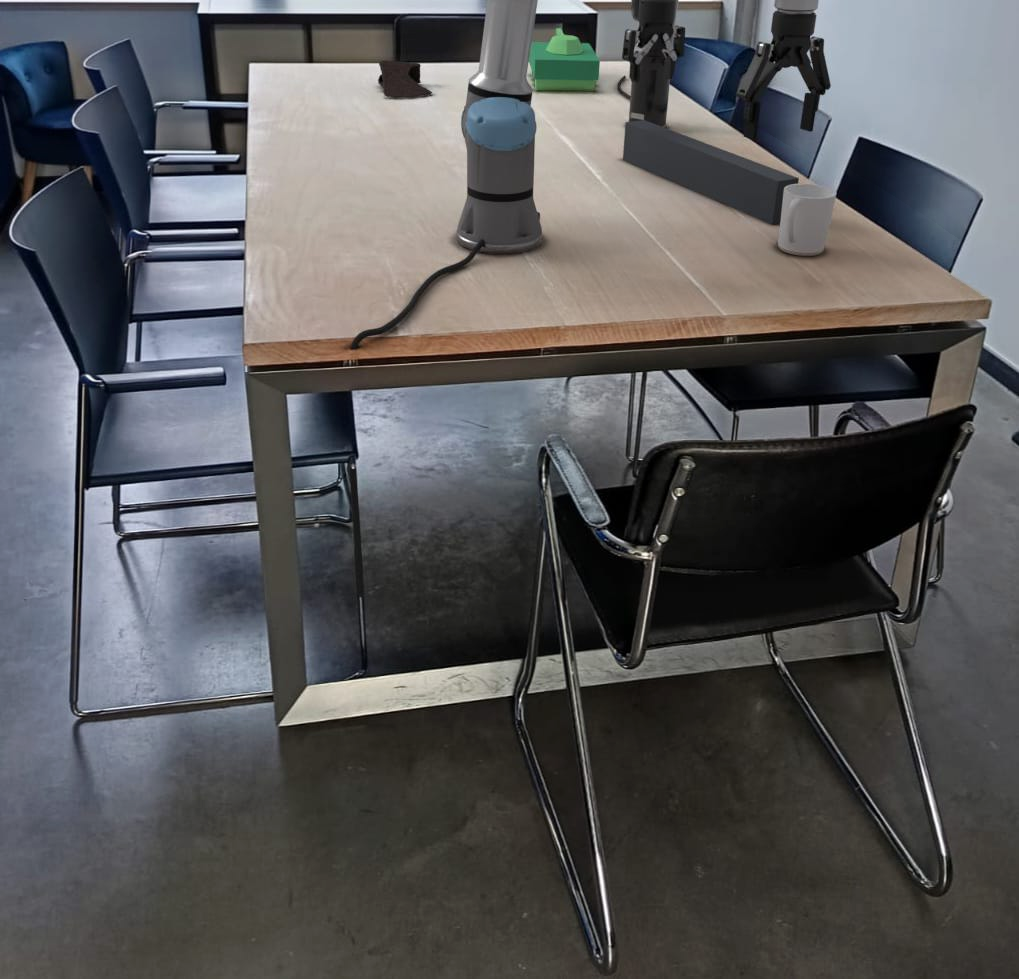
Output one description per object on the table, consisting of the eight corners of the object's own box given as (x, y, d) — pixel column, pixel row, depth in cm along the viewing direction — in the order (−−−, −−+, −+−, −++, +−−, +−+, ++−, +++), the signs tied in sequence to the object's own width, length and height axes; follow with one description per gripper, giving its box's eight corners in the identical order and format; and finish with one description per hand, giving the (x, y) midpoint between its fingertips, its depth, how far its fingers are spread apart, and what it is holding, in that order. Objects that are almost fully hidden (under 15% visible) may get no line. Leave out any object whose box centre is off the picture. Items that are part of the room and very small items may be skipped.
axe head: (443, 87, 294) (392, 77, 287) (436, 115, 299) (385, 106, 292) (421, 62, 307) (371, 52, 300) (414, 89, 311) (365, 80, 304)
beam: (792, 221, 209) (799, 178, 205) (772, 224, 207) (778, 181, 203) (641, 157, 246) (644, 119, 242) (622, 159, 244) (625, 122, 240)
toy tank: (587, 25, 326) (600, 46, 296) (584, 68, 332) (597, 93, 303) (528, 24, 325) (535, 44, 295) (526, 67, 331) (534, 92, 302)
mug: (789, 236, 200) (798, 180, 195) (834, 247, 195) (845, 190, 190) (760, 251, 193) (769, 193, 188) (807, 263, 188) (817, 204, 183)
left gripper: (833, 3, 200) (815, 122, 211) (725, 12, 190) (712, 136, 201) (863, 9, 195) (842, 131, 206) (753, 18, 184) (738, 146, 196)
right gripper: (675, -7, 230) (668, 74, 238) (619, -4, 224) (613, 79, 232) (697, -2, 224) (688, 81, 233) (639, 1, 218) (633, 86, 227)
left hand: (778, 134), depth 204 cm, fingers open, 13 cm apart
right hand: (651, 80), depth 232 cm, fingers open, 8 cm apart
